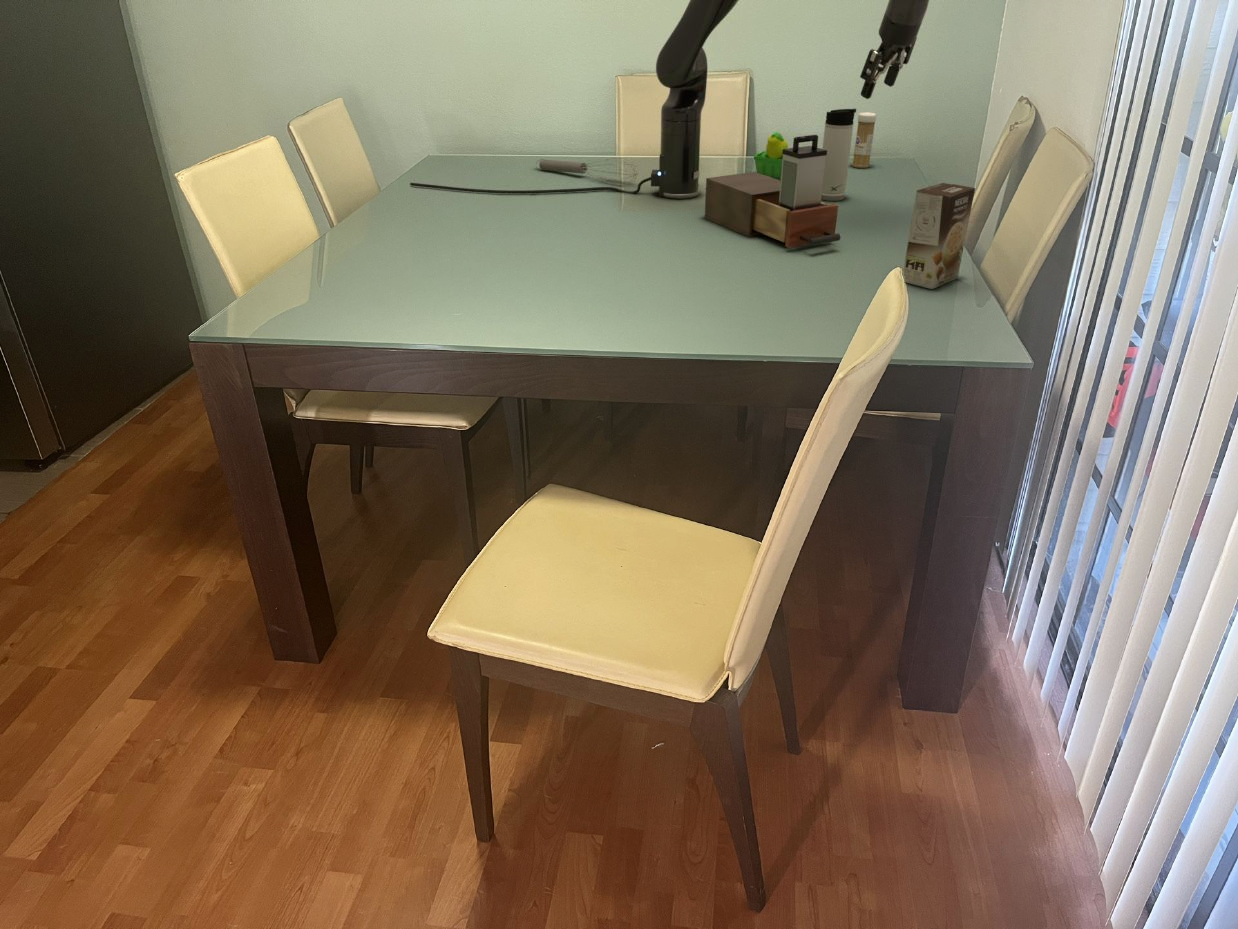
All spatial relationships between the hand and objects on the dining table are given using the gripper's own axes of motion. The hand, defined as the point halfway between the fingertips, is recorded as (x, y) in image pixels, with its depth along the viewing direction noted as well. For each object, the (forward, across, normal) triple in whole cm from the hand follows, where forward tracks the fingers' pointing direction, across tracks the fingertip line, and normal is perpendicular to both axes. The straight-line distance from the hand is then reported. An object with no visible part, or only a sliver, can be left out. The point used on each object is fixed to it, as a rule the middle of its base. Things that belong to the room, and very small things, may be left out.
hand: (876, 90), depth 190 cm
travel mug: (+28, +1, -1) cm, 28 cm away
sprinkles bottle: (+38, -32, -12) cm, 52 cm away
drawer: (+15, +35, +10) cm, 39 cm away
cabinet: (+22, +31, -2) cm, 38 cm away
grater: (+14, +35, +11) cm, 39 cm away
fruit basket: (+37, -7, -22) cm, 44 cm away
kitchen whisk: (+42, +29, -56) cm, 75 cm away
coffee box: (+5, +37, +40) cm, 55 cm away
